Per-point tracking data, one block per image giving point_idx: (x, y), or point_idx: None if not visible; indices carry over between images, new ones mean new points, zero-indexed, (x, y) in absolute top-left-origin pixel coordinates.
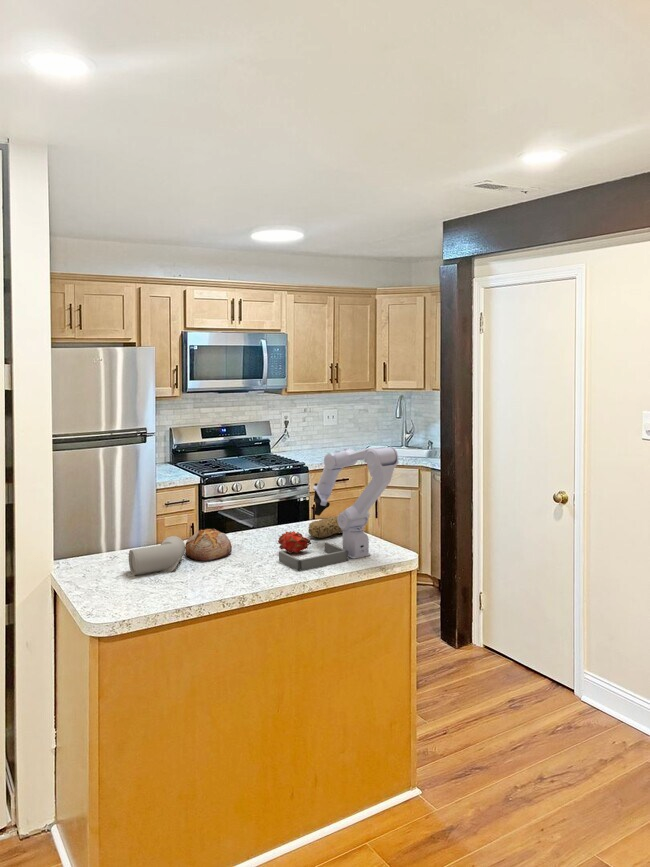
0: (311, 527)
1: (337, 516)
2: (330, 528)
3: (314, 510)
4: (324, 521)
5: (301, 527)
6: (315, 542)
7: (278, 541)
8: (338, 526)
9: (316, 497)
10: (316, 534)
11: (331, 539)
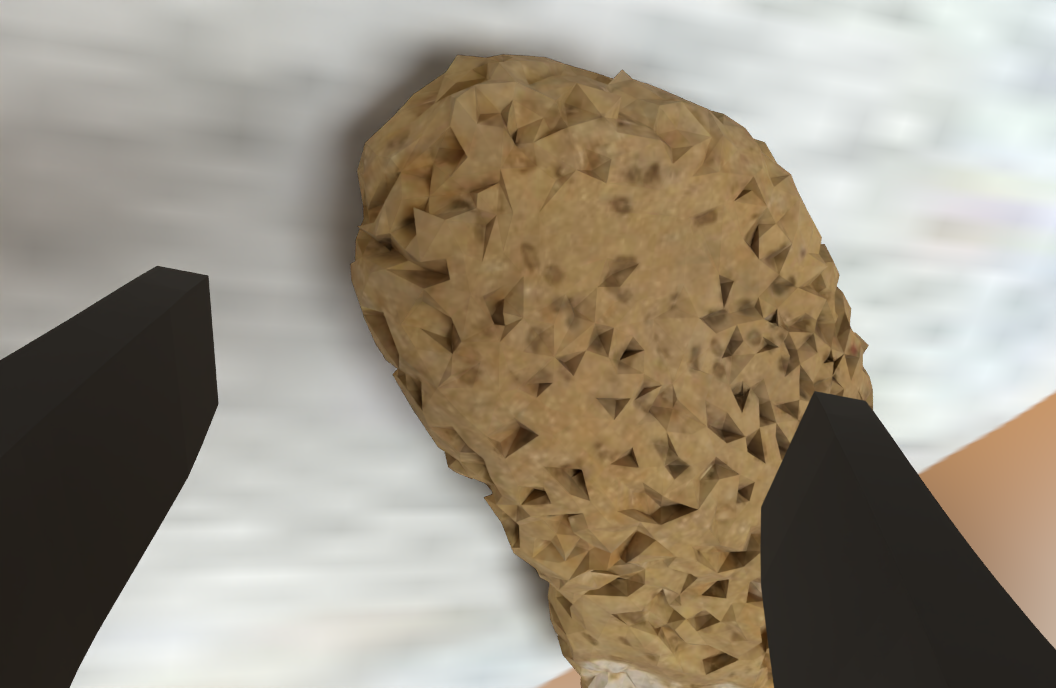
0: (502, 122)
1: None
2: (434, 435)
3: (124, 328)
4: (678, 379)
5: (1018, 26)
6: (233, 119)
7: None
8: (513, 546)
9: (840, 568)
10: (360, 176)
11: (366, 370)
